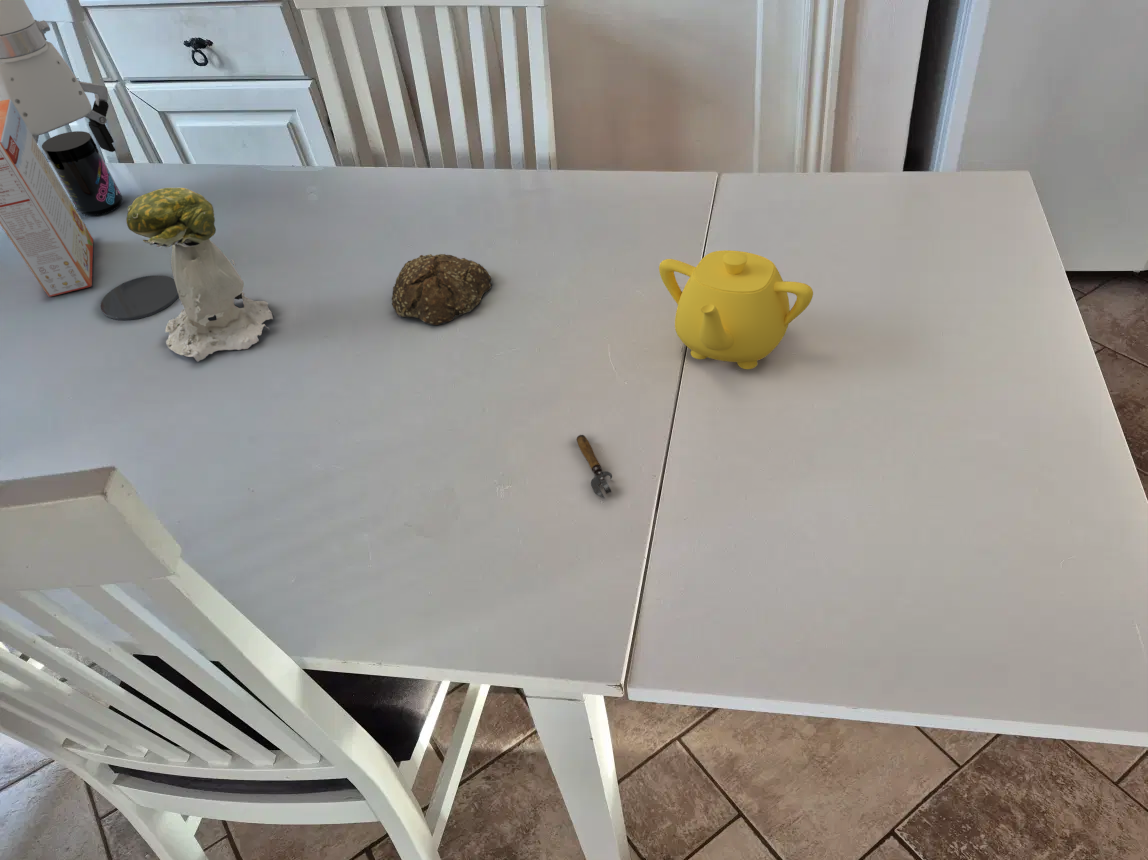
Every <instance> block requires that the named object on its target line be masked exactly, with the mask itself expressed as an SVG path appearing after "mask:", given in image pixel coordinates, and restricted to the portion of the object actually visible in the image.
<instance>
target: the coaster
mask: <svg viewBox="0 0 1148 860" xmlns="http://www.w3.org/2000/svg"><path fill="white" fill-rule="evenodd" d="M178 298H179V294H178V291H177V288H176V284H175V281H174V277H171V276H167V275H161V274H160V275H159V274H156V275H146V276H140V277H136V278H133V279H130V280H128V281H125V282H122V283H121V284H118V285H116V286H115V287H114V288H112V289H111V290H110V291H108V292H107V293H106V294H105V296H104V297H103V298H102V300H101V301H100V310H101V312H102V314H103V315H104V316H106V317H107V318H109V319H112V320H116V321H133V320H139V319H143V318H147V317H150V316H153V315H156V314H157V313H159V312H162V311H164V310H165V309H167V308H168V307H170V306H171V305H172V304H173V303H175V301H177V299H178Z"/></svg>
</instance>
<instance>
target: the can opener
mask: <svg viewBox="0 0 1148 860" xmlns="http://www.w3.org/2000/svg"><path fill="white" fill-rule="evenodd" d="M576 443H577V446H578V447H579V449H580V452H581V453H582V455H583V457H584V458H585V460H586V461H587V463H588V465H589V468H590V469H591V472H592V473H594V477H593V478H592V479H591V480H590V486H591V489H592V491H593V493H594V494H595V495H597V496H599V497H601V498H604V499H605V498H606V497H605V495H604V494H603V492H602V489H601V488H600V486H602V488H603V489H604V492H605V494H606V495H607V494H609V493H611V492H612V490H611V487H610V485H609V483H608V482H607V479H606V477H609V479H610V480H611V479H613V474H612V473H611V472H609V471H603V469H602V465H601V463H600V462H599V460H598V458H597V457H596V454H595V452H594V449H593V447H592V445H591V443H590V441H589V440H588V438H587V437H586V436H585V435H584V434H579V435H578V436H577V437H576ZM599 485H600V486H599Z"/></svg>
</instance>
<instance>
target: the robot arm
mask: <svg viewBox="0 0 1148 860" xmlns="http://www.w3.org/2000/svg"><path fill="white" fill-rule="evenodd" d="M50 31H51V27H50V25H49V24H48V22H47V21H46V20H44V19H43V20H40V21H39V20H37V19H35V18H34V16H33V14H32V12H31V10H30V8H29V6H28V5H27V3H26V1H25V0H0V101H2V100H8V99H11V101H12V102H13V104H14V106H15V107H16V109H17V111H18V112H19V114H20V116H21V117H22V119H23V121H24V122H25V124H26V126H27V127H28V129H29V131H30V133H31V134H32V136H33V138H34V139H35V141H36V143H37V144H38V143H39V137H40V136H42V135H45V134H47V133H50V132H53V131H55V130H57V129H60V128H63V127H64V126H68V125H69V124H73V123H74V122H77V121H80V120H81V119H84V118H86V119H88V122H87V123H88V127H89V130H90V131H91V133H92V135H93V136H94V139H95V141H96V143H97V144H98V146H99V148H100V149H102V150H104V151H107V152H109V153H115V152H116V151H117V150H116V147H115V145H114V144H113V143H114V142H115V140H114V138H113V137H112V135H111V133H110V131H109V129H108V127H107V125H106V124H107V120H108V119H107V118H106V117H107V114H108V110H109V107H110V106H109V105H110V104H109V102H108V99H109V98H108V95H109V94H108V88H107V86H106V85H103V84H100V83H94V82H93V83H92V82H87V81H86V82H85V81H79V80H78V78H77V76H76V75H75V73H74V72H73V71H72V69H71V67H70V66H69V64H68V63H67V61H66V60H65V59H64V58H63V56H62V54H61V53H60V52H59V51H58V49H57V48H56V47H55V45H53V43H52V42H50V41H48V39H47V37H46V36H45V34H47V32H50ZM86 93H91V94H93V95H94V99H95V100H94V102H93V105H92V104H91V101H90V100H89V98H88V96H87V94H86ZM43 155H44V156H45V153H43ZM46 160H47V162H48V163H49V160H48V158H46ZM51 166H52V165H50V167H51ZM51 168H52V167H51ZM54 171H55V170H53V172H54ZM54 173H55V172H54Z"/></svg>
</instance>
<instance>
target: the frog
mask: <svg viewBox="0 0 1148 860" xmlns="http://www.w3.org/2000/svg"><path fill="white" fill-rule="evenodd" d="M126 209H127V210H126V211H127V214H126V225H127V228H128V229H129V231H130V232H132V233H134V234H136V235H138V236H141V237H144V238H147V239H143V240H142V242H143V243H146V244H149V245H151V246H152V245H155V246H156V247H157V248H162V247H165V248H170V247H171V250H172V251H171V257H170V267H171V273H172V278H173V279H174V281H175V284H176V288H177V291H178V294H179V296H178V298H179V300H180V302H181V305H182V306H183V309H181V311H180V313H179V314H178V315H177V316H176V317H173V318H171V319H169V320H168V321H167V324H166V326H165V331H164V332H165V333H168V337H167V339H166V340H165V344H166V346H167V348H168V349H169V350H170V351H172V352H174V353H175V354H178V355H179V356H185V357H187V358H188V357H189V358H193V359H194V360H195V361H196V362H197V363H198V362H200V361H203V360H204V359H206V357H208V356H209V355H213V353H215V352H218V351H233V350H237V351H241V350H248V349H249V348H250V347H252V345H255V344H257V343H258V342H260V341H259V338H258V337H259V336H262V333H263V329H264V328H267V329H268V330H270V327H267V326H266V324H265V323H264V322H266V321H269V320H274V317H273V316H274V313H273V312H272V311H271V310H270V308H269V303H268V302H267V301H266V300H253V299H251V298H249V297H247V296H246V295H245V292H243V291H244V284H245V283H244V280H243V279H242V278H241V276H240V274H239V273H238V271H237V270H236V265H237V264H236V263H235V260H234V259H228V256H226V255H225V253H224V252H223V251H222V250H221V249H220V248H219V247H218V246H217V245H216V244H215V243H214V242H213V241H212V240H211V238H212V237H213V236H214V235H215V234H216V231H217V229H216V226H215V221H216V219H215V210H214V206H213V204H212V203H211V202H210V201H209V200H207V199H206V198H205V197H204V195H203V194H201V193H198V192H195V191H193V190H191V189H189V188H186V187H163V188H159V189H156V190H153V191H150V192H148V193H144V194H142V195H140V196H137V197H136V198H135V199H134V200H133V201H132V204H130V205H128V206H127V208H126ZM231 261H232V262H231ZM235 300H237V301H238V300H242V303H243V307H238V306H236V305H235ZM214 317H216V319H214V320H209V318H214Z"/></svg>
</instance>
